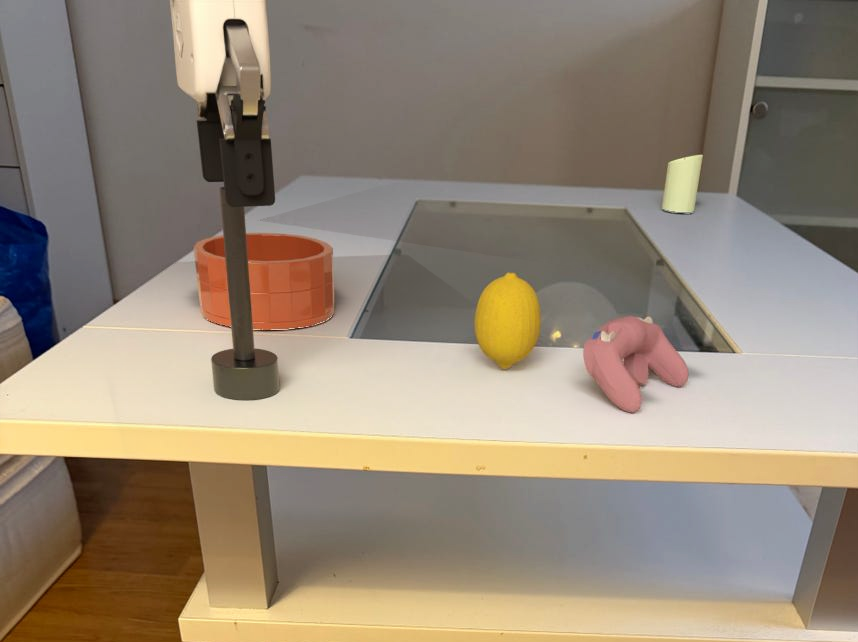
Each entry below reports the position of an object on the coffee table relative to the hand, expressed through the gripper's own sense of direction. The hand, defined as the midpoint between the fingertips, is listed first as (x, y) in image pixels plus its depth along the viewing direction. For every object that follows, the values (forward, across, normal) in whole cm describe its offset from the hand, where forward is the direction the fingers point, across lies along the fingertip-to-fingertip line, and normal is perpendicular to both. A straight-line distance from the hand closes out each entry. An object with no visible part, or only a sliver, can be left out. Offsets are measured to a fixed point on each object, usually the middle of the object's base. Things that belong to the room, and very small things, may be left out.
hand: (237, 192), depth 69 cm
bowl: (+14, -21, +5) cm, 26 cm away
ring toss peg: (+14, 0, -1) cm, 14 cm away
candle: (+16, -65, +78) cm, 103 cm away
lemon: (+15, 0, +21) cm, 26 cm away
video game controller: (+15, +8, +29) cm, 34 cm away
